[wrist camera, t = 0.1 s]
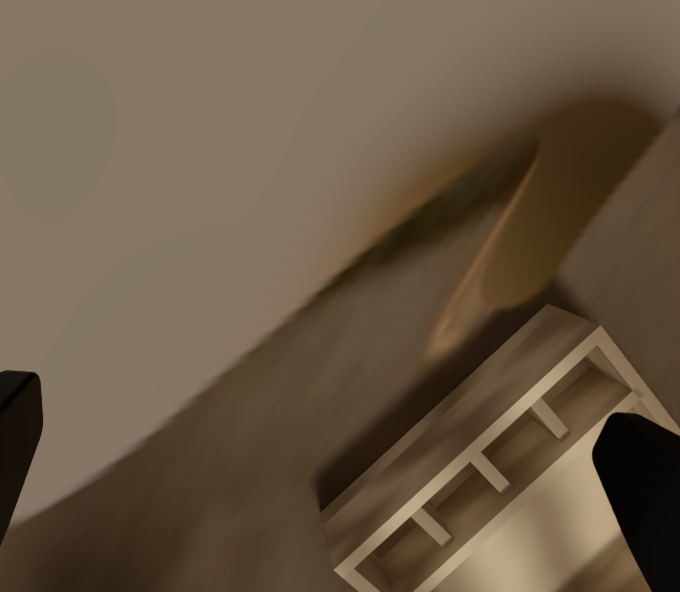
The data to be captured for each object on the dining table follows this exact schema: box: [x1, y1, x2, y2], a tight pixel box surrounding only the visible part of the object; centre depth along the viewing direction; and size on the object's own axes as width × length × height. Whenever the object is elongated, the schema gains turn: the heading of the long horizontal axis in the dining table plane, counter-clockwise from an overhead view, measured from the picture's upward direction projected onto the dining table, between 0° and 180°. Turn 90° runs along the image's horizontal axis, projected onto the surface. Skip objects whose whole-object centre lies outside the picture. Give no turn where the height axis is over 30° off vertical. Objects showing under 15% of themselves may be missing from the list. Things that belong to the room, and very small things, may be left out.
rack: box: [320, 304, 680, 592], centre depth 26 cm, size 15×14×4 cm
